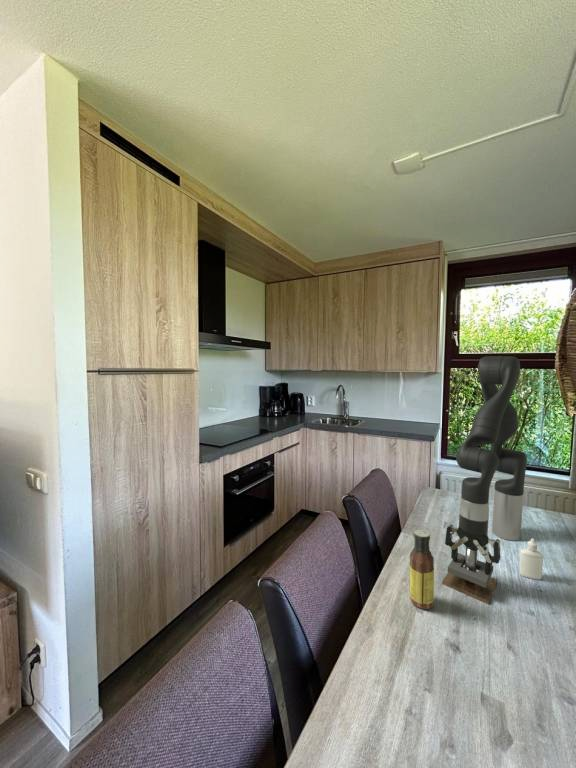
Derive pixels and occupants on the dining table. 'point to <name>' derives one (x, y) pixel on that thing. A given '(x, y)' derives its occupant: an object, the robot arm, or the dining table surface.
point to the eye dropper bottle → (531, 561)
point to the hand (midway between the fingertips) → (470, 566)
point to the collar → (468, 575)
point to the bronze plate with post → (467, 586)
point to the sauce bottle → (421, 571)
